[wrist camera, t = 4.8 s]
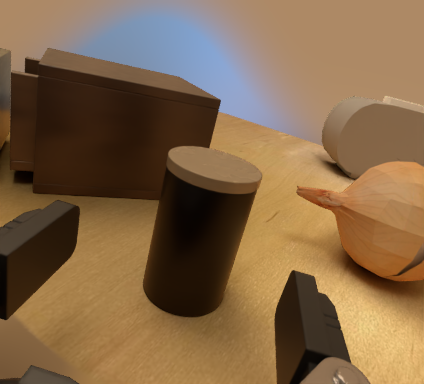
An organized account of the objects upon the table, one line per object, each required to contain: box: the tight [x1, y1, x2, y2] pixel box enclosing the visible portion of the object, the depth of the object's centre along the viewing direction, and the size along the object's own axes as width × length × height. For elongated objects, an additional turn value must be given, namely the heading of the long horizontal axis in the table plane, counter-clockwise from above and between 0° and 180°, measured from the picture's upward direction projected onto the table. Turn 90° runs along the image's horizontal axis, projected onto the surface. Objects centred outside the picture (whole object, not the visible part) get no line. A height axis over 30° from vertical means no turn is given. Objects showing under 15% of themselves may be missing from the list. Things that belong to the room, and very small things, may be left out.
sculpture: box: [297, 158, 424, 281], centre depth 26 cm, size 9×9×15 cm
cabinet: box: [33, 48, 221, 200], centre depth 32 cm, size 14×13×10 cm
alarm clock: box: [322, 96, 424, 179], centre depth 56 cm, size 21×10×13 cm, turn 88°
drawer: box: [0, 48, 40, 172], centre depth 29 cm, size 17×11×8 cm
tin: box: [143, 146, 262, 317], centre depth 18 cm, size 5×5×8 cm
